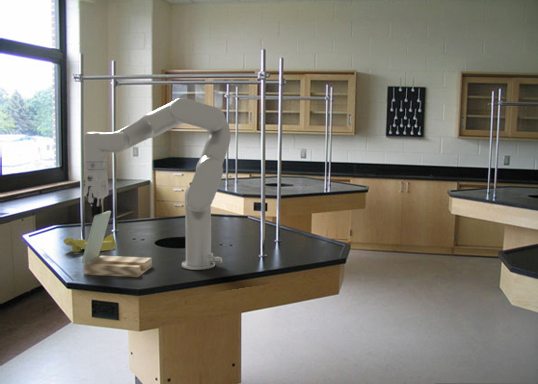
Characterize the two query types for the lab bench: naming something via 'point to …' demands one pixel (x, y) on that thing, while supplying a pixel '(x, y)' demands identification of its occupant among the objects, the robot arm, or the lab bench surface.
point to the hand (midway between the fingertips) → (96, 216)
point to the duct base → (118, 266)
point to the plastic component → (80, 243)
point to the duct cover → (96, 236)
